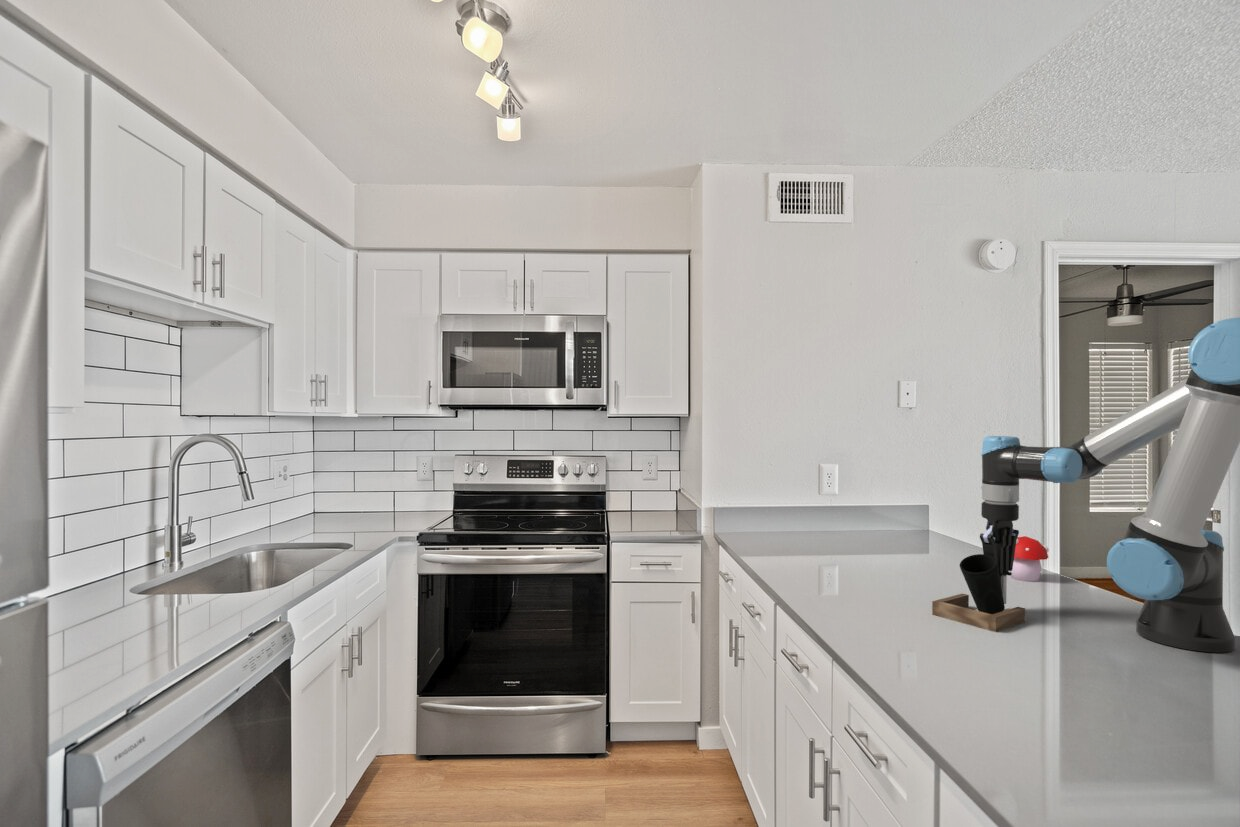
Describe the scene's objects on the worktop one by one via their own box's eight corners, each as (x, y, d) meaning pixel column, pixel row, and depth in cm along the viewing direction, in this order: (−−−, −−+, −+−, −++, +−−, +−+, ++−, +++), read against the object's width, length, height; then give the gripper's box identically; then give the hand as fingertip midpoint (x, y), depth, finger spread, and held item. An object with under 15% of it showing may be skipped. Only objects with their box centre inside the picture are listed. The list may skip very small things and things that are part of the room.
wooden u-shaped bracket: (1025, 621, 142) (1025, 608, 142) (995, 631, 135) (995, 617, 135) (962, 606, 154) (962, 593, 154) (932, 614, 147) (932, 601, 147)
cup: (1016, 612, 144) (1003, 567, 141) (980, 621, 146) (967, 577, 143) (1000, 593, 151) (988, 550, 149) (967, 602, 153) (954, 559, 150)
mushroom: (1035, 574, 186) (1035, 533, 186) (1057, 584, 175) (1057, 540, 175) (996, 573, 187) (996, 532, 187) (1016, 583, 176) (1016, 539, 176)
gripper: (998, 497, 157) (997, 594, 157) (968, 502, 150) (967, 602, 151) (1031, 502, 151) (1029, 602, 151) (1001, 506, 144) (1000, 611, 144)
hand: (998, 602), depth 151 cm, fingers closed
